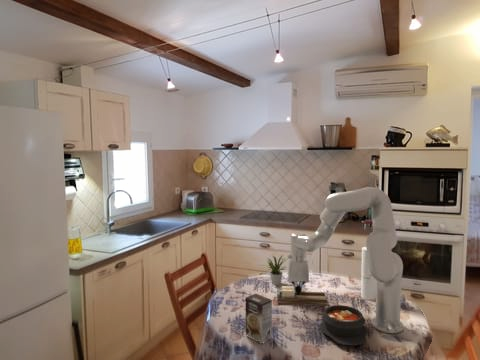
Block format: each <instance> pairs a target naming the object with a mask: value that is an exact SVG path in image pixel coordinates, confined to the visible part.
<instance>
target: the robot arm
mask: <svg viewBox="0 0 480 360" xmlns="http://www.w3.org/2000/svg"><path fill="white" fill-rule="evenodd" d="M324 206H325V207H324V210H323V211H322V212H321V213H320V215H319V219H320V221H321V222H320V224H319V226H318V228H317V229H316V231H315V232H314V233H311V234H309V235H306V234H305V233H304V232H301V231H300V232H297V231H295V232H292V233H291V234H290V254H288V255H287V259H288V260H289V261H288V266H287V281H286V282H288V283H291V284H292V285H293V286H294V291H295V292H296V293H297V295H298V294H299V295H300V292H301V291H302V287H303V285H304V284H307V283H310V269H309V268H310V267H309V262H308V259H307V253H313V252H315V251H317V250H319V249H321V248H323V247H324V246H325V245H326V244H327V242H328V241H330V239H331V237H332V236H333V234H334V232H335V230H336V227H337V226H338V224H339V223H340V221H341V220H342V218H343V217H344V215H345V214H346V213H349V212H358V211H362V210H363V211H364V210H366V209H369V208H370V209H371V223H372V232H369V234H368V235H367V238H366V241H365V242H366V243H365V244H366V245H365V247H366V248H367V256H368V263H369V269H370V272H371V275H372V276H373V277H374V278H375V279H376V299H375V317H373V318H372V319H371V325H372V327H373V328H375V329H376V330H378V331H379V332H382V333H386V334H399V333H402V332H403V331H404V329H405V325H404V323H403V322H402V321H401V297H402V296H401V295H402V294H401V293H402V278H403V271H404V264H403V260H402V258H401V256H400V255H399V254H397V253H396V252H393V251H392V250H393V248H395V247H396V245H397V243H398V237H397V230H396V224H395V219H394V213H393V211H394V210H393V207H392V206H393V204H392V202H391V200H390V197H389V196H388V194H387V193H386V192H384V191H383V190H382V189H380V188H377V187H373V186H366V187H362V188H358V189H354V190H350V191H338V192H337V191H336V192H334V193H333V192H332V193H331V194H329V195H328V196H327V197H326V199H325V201H324ZM297 282H299V283H297Z"/></svg>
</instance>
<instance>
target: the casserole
mask: <svg viewBox="0 0 480 360" xmlns="http://www.w3.org/2000/svg"><path fill="white" fill-rule="evenodd" d="M321 318H322V319H321V322H320V324H319V328H320V331H321V332H322V333H323V334H325V335H327V336H328V337H330V338H331V339H332V340H334V341H335V342H336V343H337V344H339V345H343V346H344V345H345V346H359V345H360V346H361V345H365V344H366V343H367V341H368V340H367V335H368V329H367V328H366V326H365V324H366V319H365V317H364V316H363V313H362V312H361V311H360V310H358V309H357V308H354V307H352V306H349V305H341V304H339V305H338V304H335V305H331V306H327V307H326V308H325V309H324V311H323V312H322V315H321Z"/></svg>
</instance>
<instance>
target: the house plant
mask: <svg viewBox="0 0 480 360" xmlns="http://www.w3.org/2000/svg"><path fill="white" fill-rule="evenodd" d="M283 256H284V254H282V255H280V256H279V258H278V260H277V258H276V256H275V255H274V254H271V257H272V258H273V261H274V263H273V261H272V260H271V259H270V258H269V257H267V260H266V262H267V263H268V264H267V265H266V266H267V268H269V269H267V271H269V275H270V281H271V284H272V285H273V286H280V285H281V284H282V279H283V278H282V277H283V270H286V268H287V267H286V266H282V265H283V264H284V262H286V261H287V260H288V258H284V257H283ZM281 266H282V267H281ZM286 271H287V270H286Z"/></svg>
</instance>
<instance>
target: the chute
mask: <svg viewBox="0 0 480 360" xmlns="http://www.w3.org/2000/svg"><path fill="white" fill-rule="evenodd" d="M325 294H326V293H325V292H324V291H323V292H322V291H305V290H301V292H300V295H299V294H298V295H297V293H296V292H295V298H282V290H280V288H276V299H277V302H276V303H277V305H282V306H283V305H286V306H287V305H289V306H292V305H293V306H299V305H300V306H325V307H329V306H328V305H329V303H328V298H326V295H325Z"/></svg>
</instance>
